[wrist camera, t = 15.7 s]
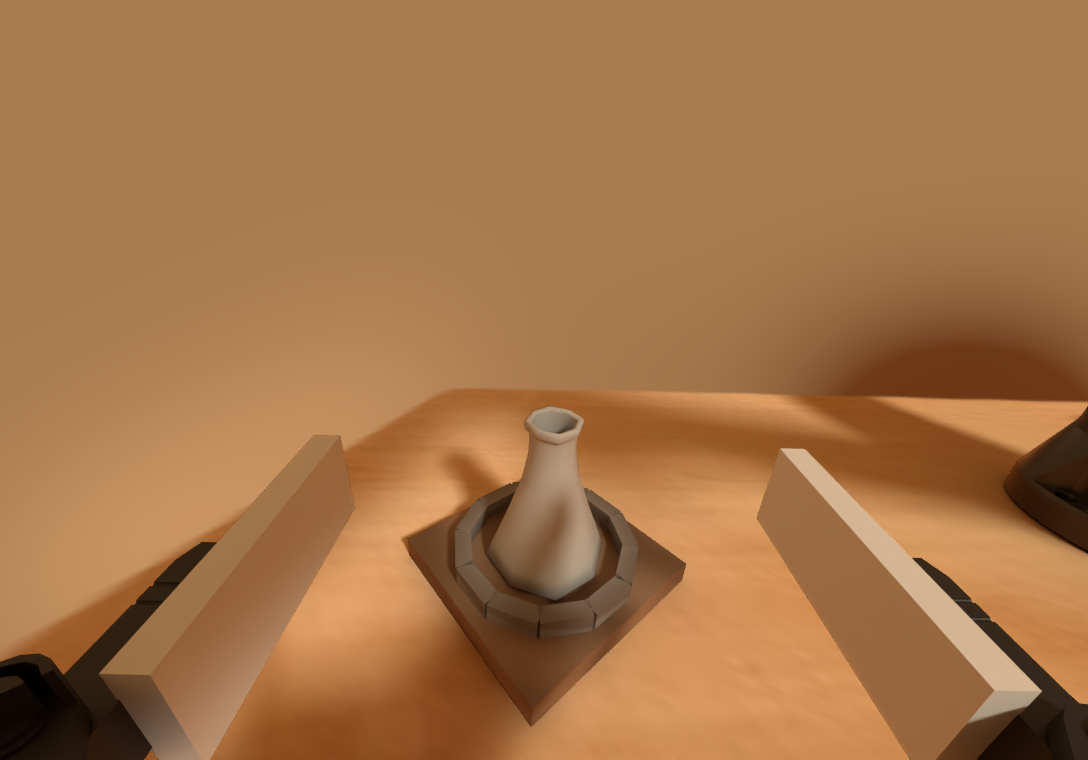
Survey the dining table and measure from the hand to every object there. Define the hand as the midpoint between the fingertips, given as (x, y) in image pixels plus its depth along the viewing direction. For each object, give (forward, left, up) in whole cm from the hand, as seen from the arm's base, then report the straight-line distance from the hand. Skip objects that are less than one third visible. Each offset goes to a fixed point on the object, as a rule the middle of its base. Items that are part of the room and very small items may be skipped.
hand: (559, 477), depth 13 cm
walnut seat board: (-7, -7, -15) cm, 18 cm away
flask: (-7, -7, -14) cm, 17 cm away
